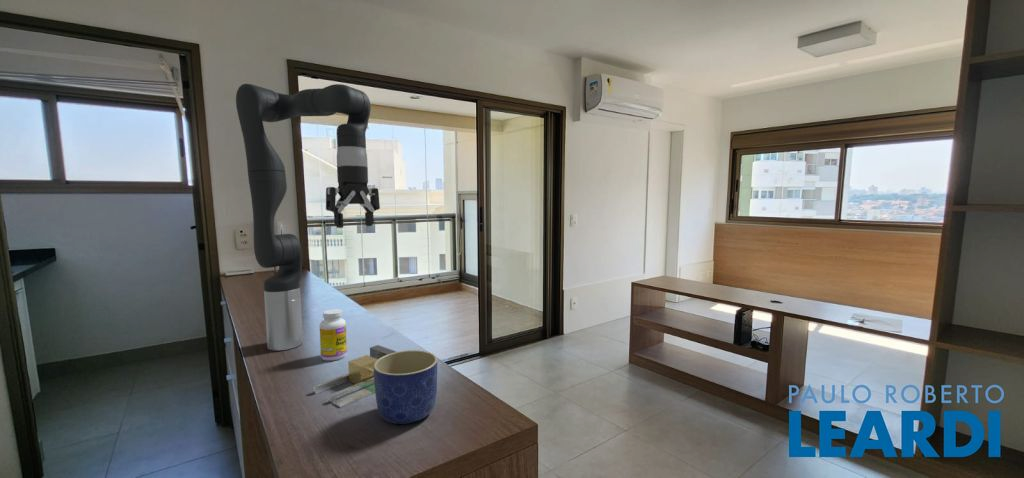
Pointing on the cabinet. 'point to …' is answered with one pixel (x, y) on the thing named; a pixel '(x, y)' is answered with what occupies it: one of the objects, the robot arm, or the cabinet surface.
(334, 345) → the supplement bottle
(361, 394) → the grey open frame tray
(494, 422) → the cabinet surface
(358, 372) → the tan gold cube
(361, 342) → the cabinet surface
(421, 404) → the planter
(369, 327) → the cabinet surface
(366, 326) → the cabinet surface
